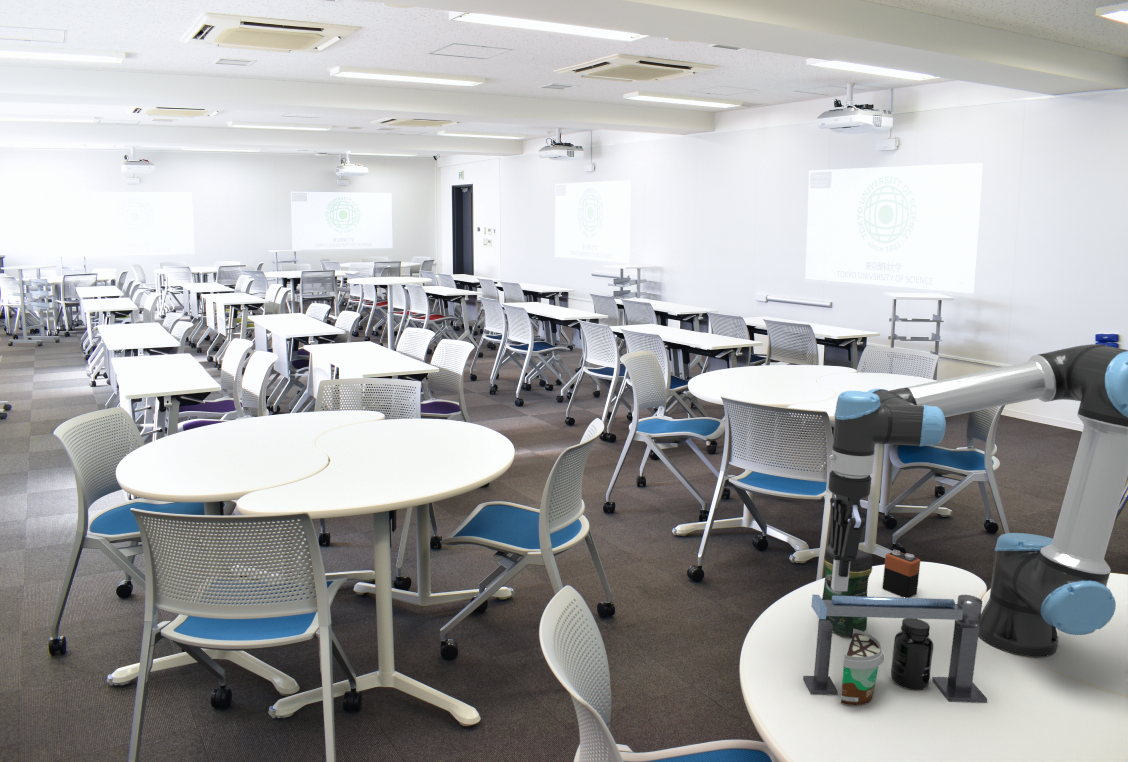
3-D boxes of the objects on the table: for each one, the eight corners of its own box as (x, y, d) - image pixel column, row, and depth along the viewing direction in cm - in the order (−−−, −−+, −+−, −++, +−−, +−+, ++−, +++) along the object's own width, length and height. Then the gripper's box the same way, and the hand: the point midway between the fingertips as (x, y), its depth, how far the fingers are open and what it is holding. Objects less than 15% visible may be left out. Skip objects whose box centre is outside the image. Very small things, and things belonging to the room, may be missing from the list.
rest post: (829, 680, 151) (834, 617, 149) (837, 694, 146) (843, 629, 144) (803, 679, 151) (808, 616, 149) (810, 694, 146) (816, 629, 144)
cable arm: (971, 613, 148) (974, 593, 147) (985, 626, 143) (987, 606, 143) (811, 608, 149) (812, 589, 148) (819, 621, 144) (820, 601, 143)
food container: (875, 717, 140) (880, 665, 138) (839, 707, 142) (844, 656, 141) (883, 683, 150) (888, 635, 149) (849, 675, 153) (853, 627, 151)
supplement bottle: (932, 693, 147) (939, 634, 145) (894, 688, 149) (900, 629, 147) (924, 674, 154) (930, 617, 152) (887, 669, 155) (893, 613, 153)
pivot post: (968, 681, 152) (976, 615, 149) (987, 702, 145) (995, 634, 142) (931, 680, 152) (939, 614, 149) (948, 701, 145) (956, 632, 142)
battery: (907, 599, 187) (911, 559, 185) (881, 589, 192) (885, 550, 190) (917, 595, 189) (921, 555, 187) (891, 584, 194) (895, 546, 193)
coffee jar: (872, 633, 170) (880, 551, 167) (847, 641, 166) (854, 558, 163) (837, 614, 178) (844, 536, 175) (812, 621, 174) (819, 542, 171)
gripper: (820, 462, 156) (810, 574, 160) (842, 482, 143) (830, 603, 147) (858, 463, 156) (847, 576, 160) (883, 484, 143) (870, 605, 147)
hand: (839, 589), depth 154 cm, fingers closed
